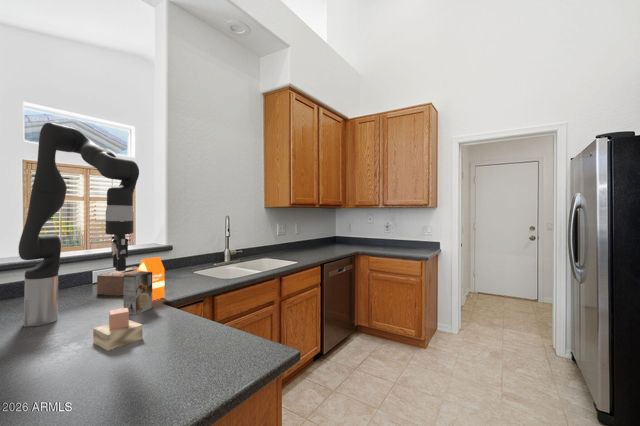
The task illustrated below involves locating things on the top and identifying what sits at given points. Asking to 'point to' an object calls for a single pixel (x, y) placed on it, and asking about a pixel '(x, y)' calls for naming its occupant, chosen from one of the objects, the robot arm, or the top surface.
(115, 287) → the tissue box cover
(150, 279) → the coffee box
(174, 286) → the top surface
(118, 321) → the terracotta cube
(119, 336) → the birch block
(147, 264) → the orange juice
